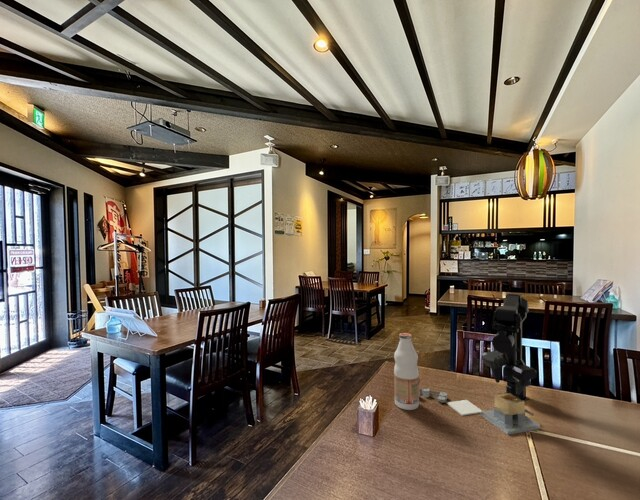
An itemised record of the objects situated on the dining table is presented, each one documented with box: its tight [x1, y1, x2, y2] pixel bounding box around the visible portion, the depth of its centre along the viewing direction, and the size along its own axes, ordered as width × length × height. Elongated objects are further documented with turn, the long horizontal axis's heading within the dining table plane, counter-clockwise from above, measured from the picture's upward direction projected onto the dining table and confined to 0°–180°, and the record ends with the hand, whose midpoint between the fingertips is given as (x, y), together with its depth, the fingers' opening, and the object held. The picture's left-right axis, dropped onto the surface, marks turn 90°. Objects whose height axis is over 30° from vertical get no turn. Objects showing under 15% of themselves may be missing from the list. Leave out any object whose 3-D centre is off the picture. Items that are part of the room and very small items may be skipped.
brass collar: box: [493, 392, 526, 415], centre depth 109 cm, size 6×6×4 cm
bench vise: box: [480, 399, 541, 436], centre depth 109 cm, size 14×12×8 cm
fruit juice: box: [393, 332, 420, 411], centre depth 122 cm, size 9×9×28 cm
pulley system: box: [419, 387, 448, 404], centre depth 134 cm, size 27×5×15 cm
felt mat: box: [446, 399, 483, 417], centre depth 118 cm, size 9×9×1 cm
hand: (507, 388), depth 109 cm, fingers open, 9 cm apart
